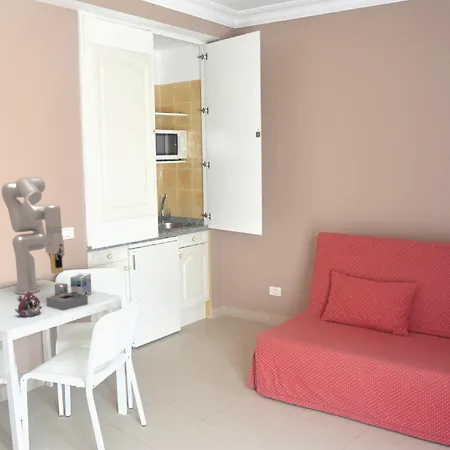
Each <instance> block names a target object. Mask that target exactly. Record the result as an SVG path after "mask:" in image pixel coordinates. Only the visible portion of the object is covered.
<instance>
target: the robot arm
mask: <svg viewBox="0 0 450 450" xmlns="http://www.w3.org/2000/svg"><path fill="white" fill-rule="evenodd" d="M1 187H2V188H1V197H2V199H3V202H4V204H5V206H6V207H7V210H8V215H9V220H10V224H11V229H12V230H13V232H15V233H21V234H17V235H15V236H14V237H13V239H12V241H11V242H12V247H13V251H14V257H15V264H16V265H15V268H16V281H17V283H16V285H15V286H16V287H17V289H15V290H14V293H15V294H17V295H25V294H26V292H28V291H29V292H31V293H32V294H34V293H37V292H40V287H37V279H36V264H35V263H36V262H35V258H34V256H33V255H32V254H31V253H30V252H32V251H33V252H34V251H39V250H43V249H45V250H44V251H45V253H47V255H48V258H50V254H56V259H57V260H56V268H61V267H63V257H64V256H65V243H64V237H63V234H62V233H63V230H62V229H63V228H62V216H61V215H62V214H61V207H60V205H58V204H51V203H50V204H49V203H48V204H38V203H39V202H40V201H41V200H42V197H43V196H42V193H43V192H44V191H45V189H46V183H45V180H44V179H43V178H42V177H41V176H25V177H24V176H23V177H21V178H18V179H17V180H16V181H12V182H11V181H9V182H6V183H5V184H3V185H2V186H1ZM19 198H23V202H21V200H19ZM36 204H37V205H36ZM43 221H44V224H43ZM44 226H45V227H44ZM44 228H45V229H44ZM26 232H30V233H26ZM58 252H60V253H58ZM59 254H60V255H59ZM58 255H59V256H58Z"/></svg>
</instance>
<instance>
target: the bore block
mask: <svg viewBox="0 0 450 450" xmlns="http://www.w3.org/2000/svg"><path fill="white" fill-rule="evenodd" d="M45 299H46V302H45V303H46V307H50V308H53V309H58V310H60V311H66V310H70V309H73V308H77V307H81V306H86V305H88V304H89V301H88V300H89V299H88V295H87V296H86V295H81V294H77V293H72V292H71V291H70V292H68V293H65V294H61V295H57V296H55V295H53V296H49V297H46V298H45Z"/></svg>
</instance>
